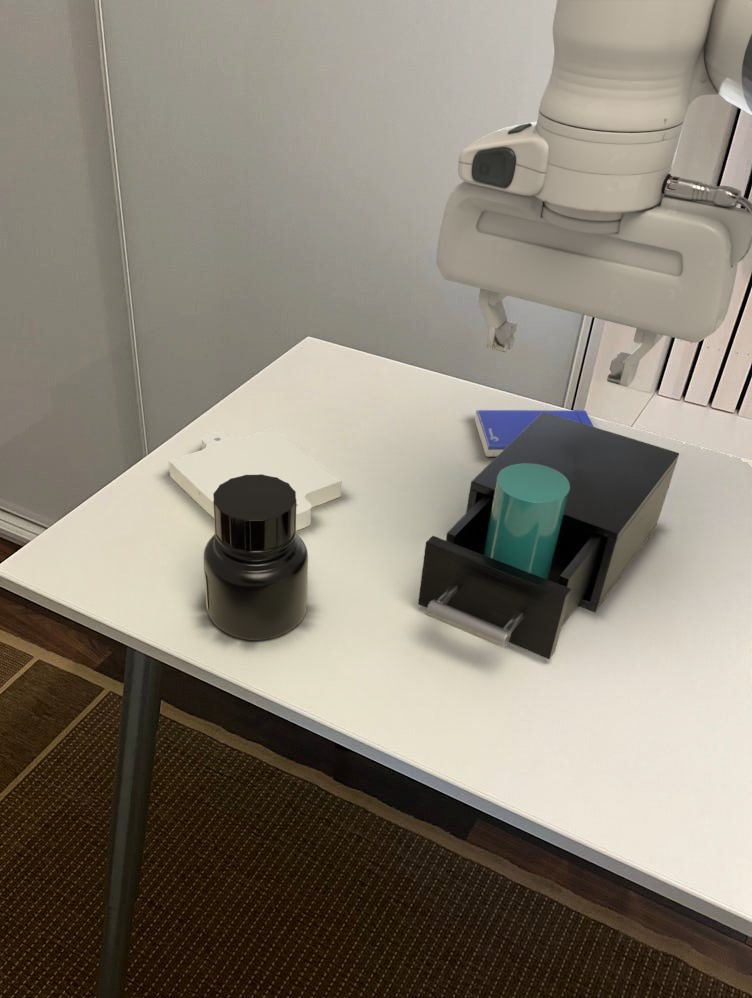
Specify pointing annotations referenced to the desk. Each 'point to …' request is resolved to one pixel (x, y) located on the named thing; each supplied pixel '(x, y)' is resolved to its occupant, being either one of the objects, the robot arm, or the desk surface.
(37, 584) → the desk surface
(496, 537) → the teal cylinder
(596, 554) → the drawer
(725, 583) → the desk surface
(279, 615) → the ink bottle
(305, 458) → the mounting plate
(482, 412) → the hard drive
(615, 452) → the cabinet
